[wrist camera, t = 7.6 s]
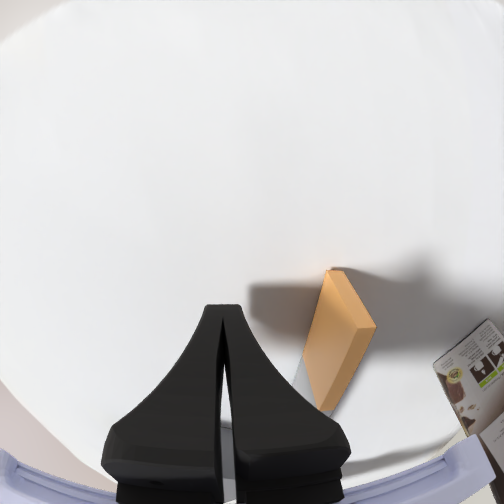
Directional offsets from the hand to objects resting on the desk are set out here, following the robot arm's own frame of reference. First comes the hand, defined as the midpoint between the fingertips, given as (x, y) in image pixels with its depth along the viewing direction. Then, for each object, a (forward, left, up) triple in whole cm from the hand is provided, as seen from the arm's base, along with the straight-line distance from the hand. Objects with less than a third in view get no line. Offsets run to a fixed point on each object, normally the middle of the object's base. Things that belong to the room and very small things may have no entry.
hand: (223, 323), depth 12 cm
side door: (-7, +4, -2) cm, 8 cm away
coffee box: (-23, -3, -2) cm, 23 cm away
